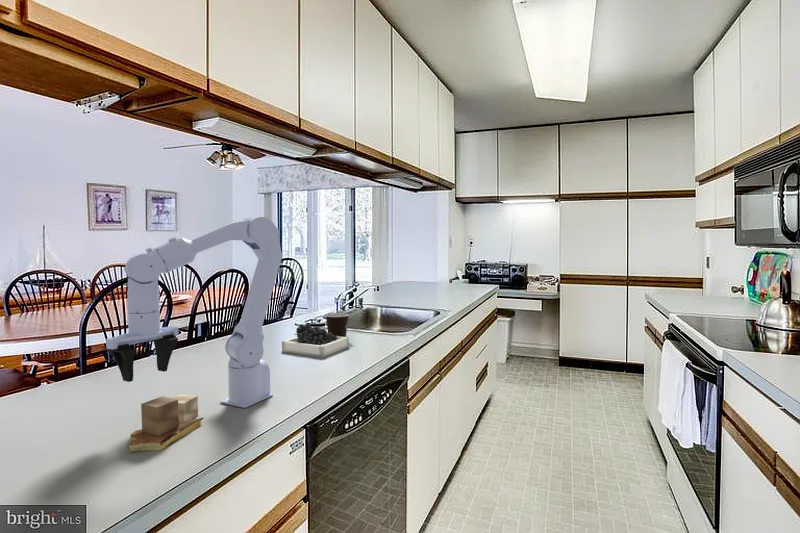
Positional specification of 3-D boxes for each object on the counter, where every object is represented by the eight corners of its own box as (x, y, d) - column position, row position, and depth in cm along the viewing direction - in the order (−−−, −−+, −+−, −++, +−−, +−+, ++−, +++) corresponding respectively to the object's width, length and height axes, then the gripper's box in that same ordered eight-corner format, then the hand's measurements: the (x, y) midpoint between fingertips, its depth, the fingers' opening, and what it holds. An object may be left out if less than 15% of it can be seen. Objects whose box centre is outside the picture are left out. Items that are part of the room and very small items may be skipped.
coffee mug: (341, 344, 162) (341, 317, 161) (321, 342, 165) (321, 316, 165) (355, 337, 173) (355, 312, 172) (336, 336, 176) (336, 311, 175)
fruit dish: (310, 342, 165) (310, 332, 165) (348, 347, 158) (348, 337, 157) (282, 351, 151) (281, 341, 151) (322, 357, 143) (322, 346, 143)
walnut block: (163, 423, 88) (162, 396, 87) (179, 426, 86) (178, 399, 86) (142, 431, 84) (141, 403, 83) (158, 436, 82) (157, 407, 82)
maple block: (180, 414, 96) (179, 394, 96) (198, 416, 96) (197, 395, 95) (165, 422, 92) (164, 401, 92) (184, 424, 91) (183, 403, 91)
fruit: (336, 319, 158) (294, 320, 154) (340, 330, 151) (295, 332, 147) (334, 339, 161) (293, 341, 157) (338, 352, 154) (294, 354, 150)
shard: (203, 425, 92) (203, 415, 92) (209, 443, 84) (209, 432, 84) (130, 439, 85) (130, 428, 85) (129, 460, 77) (128, 448, 77)
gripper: (162, 305, 99) (164, 364, 100) (95, 315, 86) (97, 382, 87) (184, 307, 96) (185, 368, 97) (118, 318, 83) (120, 388, 84)
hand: (145, 375), depth 91 cm, fingers open, 7 cm apart
